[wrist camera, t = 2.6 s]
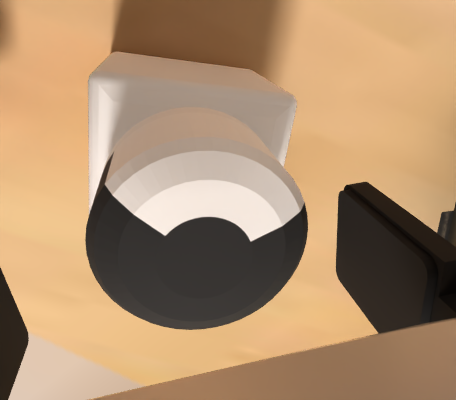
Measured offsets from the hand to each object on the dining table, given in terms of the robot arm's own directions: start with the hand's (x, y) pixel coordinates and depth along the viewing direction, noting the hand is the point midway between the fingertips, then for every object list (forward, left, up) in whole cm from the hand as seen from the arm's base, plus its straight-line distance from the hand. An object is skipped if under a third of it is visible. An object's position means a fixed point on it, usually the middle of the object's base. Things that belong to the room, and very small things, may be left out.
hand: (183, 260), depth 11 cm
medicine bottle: (-1, 0, -12) cm, 12 cm away
